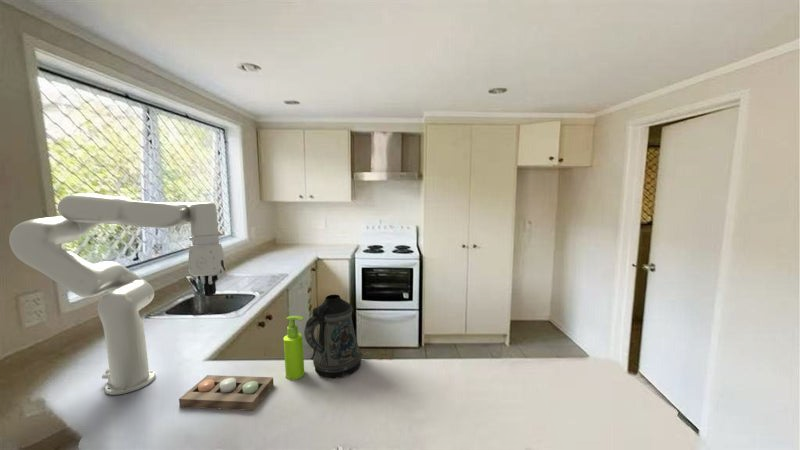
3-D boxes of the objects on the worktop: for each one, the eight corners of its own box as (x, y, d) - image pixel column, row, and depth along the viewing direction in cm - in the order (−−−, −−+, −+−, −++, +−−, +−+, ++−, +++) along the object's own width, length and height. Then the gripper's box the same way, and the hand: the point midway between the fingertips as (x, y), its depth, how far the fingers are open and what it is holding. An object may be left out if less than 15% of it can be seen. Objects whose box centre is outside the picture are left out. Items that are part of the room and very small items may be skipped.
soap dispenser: (301, 380, 105) (298, 320, 102) (282, 378, 106) (278, 319, 104) (310, 370, 110) (307, 313, 108) (291, 368, 112) (288, 312, 110)
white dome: (217, 393, 96) (216, 385, 95) (226, 385, 100) (225, 377, 100) (230, 394, 95) (230, 386, 95) (239, 385, 100) (238, 378, 99)
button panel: (179, 407, 93) (178, 398, 93) (208, 382, 105) (207, 375, 105) (253, 410, 91) (252, 402, 91) (273, 384, 103) (273, 377, 102)
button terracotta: (195, 395, 97) (194, 387, 96) (205, 387, 101) (204, 379, 100) (208, 396, 96) (207, 388, 96) (217, 387, 100) (217, 379, 100)
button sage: (240, 397, 95) (239, 389, 95) (248, 388, 99) (247, 380, 99) (253, 397, 95) (253, 389, 94) (261, 389, 99) (260, 381, 99)
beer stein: (367, 355, 120) (365, 289, 117) (350, 387, 101) (347, 308, 98) (325, 352, 123) (321, 287, 120) (300, 382, 104) (296, 306, 101)
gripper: (175, 242, 103) (180, 298, 105) (219, 241, 102) (224, 298, 103) (192, 238, 110) (197, 291, 112) (234, 238, 109) (238, 291, 111)
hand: (210, 294), depth 108 cm, fingers closed
